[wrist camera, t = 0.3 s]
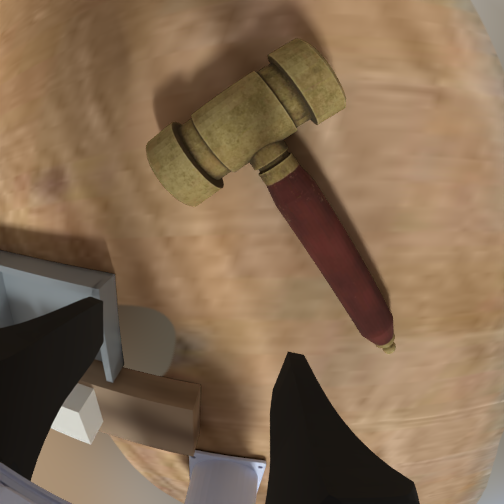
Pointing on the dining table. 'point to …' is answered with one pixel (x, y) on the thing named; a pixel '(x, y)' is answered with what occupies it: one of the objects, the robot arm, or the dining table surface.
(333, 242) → the gavel
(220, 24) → the dining table surface
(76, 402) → the tile
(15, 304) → the tray
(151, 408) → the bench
